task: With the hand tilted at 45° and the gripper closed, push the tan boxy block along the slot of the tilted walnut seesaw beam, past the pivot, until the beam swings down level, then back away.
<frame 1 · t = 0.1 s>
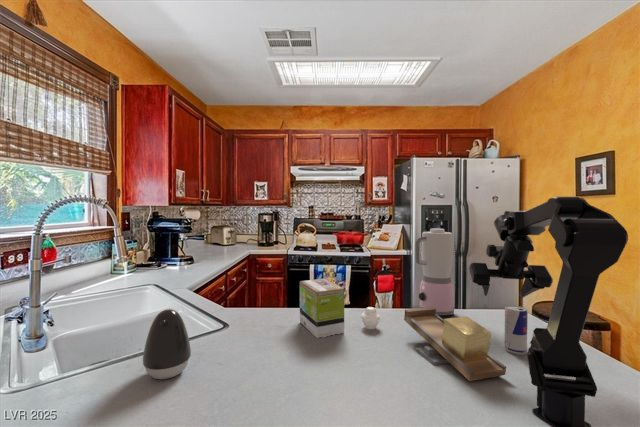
hand: (502, 295, 88), 15 cm above the countertop, tool tilted 35°, fingers open, 9 cm apart
pivot stand: (447, 354, 84), on the countertop
blender: (432, 313, 118), on the countertop
dark grey egg shape: (167, 374, 74), on the countertop
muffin: (370, 328, 103), on the countertop
tan boxy block: (463, 351, 78), point 4 cm above the countertop, tilted 8°, touching seesaw beam
tea box: (320, 328, 103), on the countertop
energy drink: (515, 351, 87), on the countertop
seesaw beam: (448, 337, 84), point 5 cm above the countertop, hinge at -8.5°, touching tan boxy block
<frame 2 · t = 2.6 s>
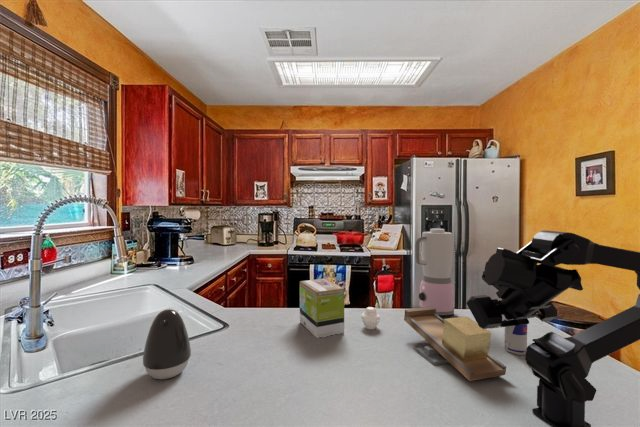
hand: (489, 326, 71), 13 cm above the countertop, tool tilted 45°, fingers closed
nothing on the countertop moved.
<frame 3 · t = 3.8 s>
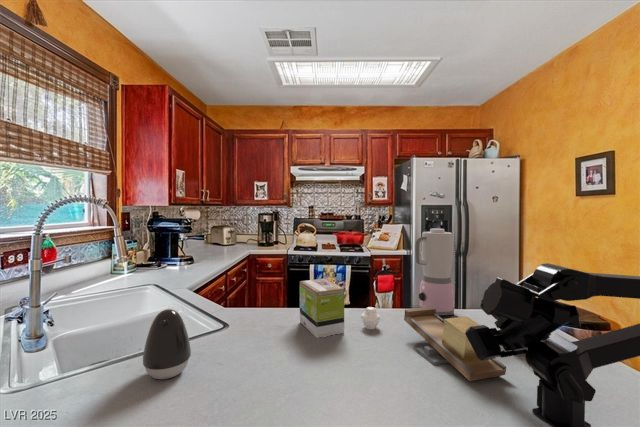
hand: (487, 353, 71), 7 cm above the countertop, tool tilted 45°, fingers closed
nothing on the countertop moved.
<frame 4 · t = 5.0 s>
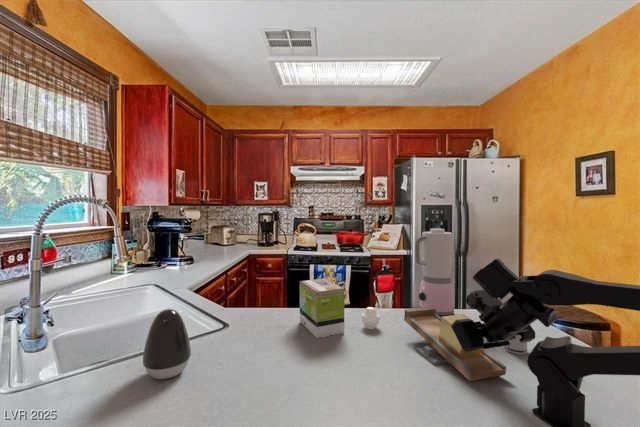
hand: (473, 346, 75), 6 cm above the countertop, tool tilted 45°, fingers closed, pressing on tan boxy block
tan boxy block: (460, 348, 80), point 4 cm above the countertop, tilted 8°, touching gripper
seesaw beam: (448, 337, 84), point 5 cm above the countertop, hinge at -8.5°
everything else where it was.
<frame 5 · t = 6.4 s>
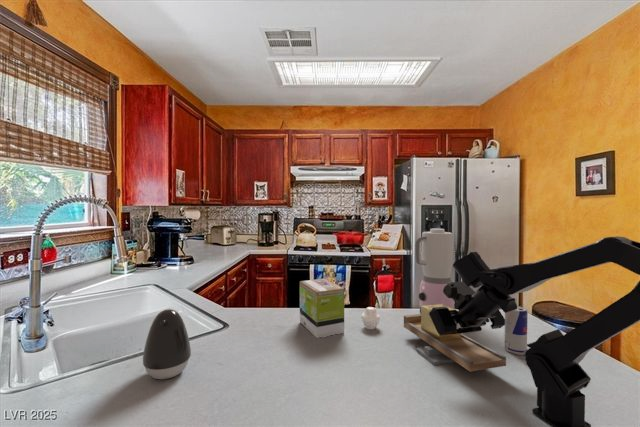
hand: (450, 332, 83), 7 cm above the countertop, tool tilted 45°, fingers closed, pressing on tan boxy block
tan boxy block: (440, 334, 87), point 4 cm above the countertop, touching gripper
seesaw beam: (447, 337, 84), point 5 cm above the countertop, hinge at 0.6°
everything else where it was.
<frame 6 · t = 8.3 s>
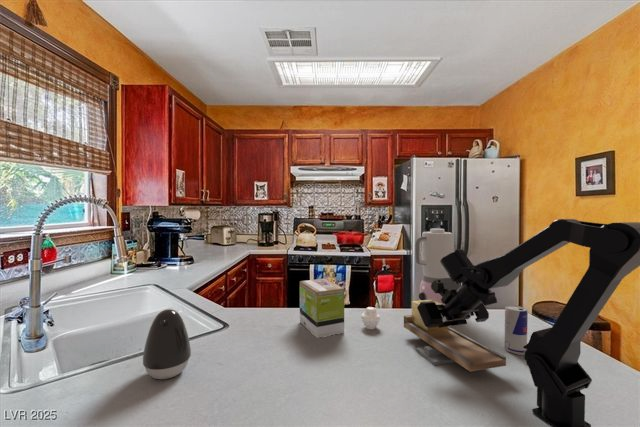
hand: (438, 326, 88), 6 cm above the countertop, tool tilted 45°, fingers closed, pressing on tan boxy block
tan boxy block: (429, 327, 92), point 4 cm above the countertop, touching gripper, seesaw beam
seesaw beam: (447, 337, 84), point 5 cm above the countertop, hinge at 0.6°, touching tan boxy block
everything else where it was.
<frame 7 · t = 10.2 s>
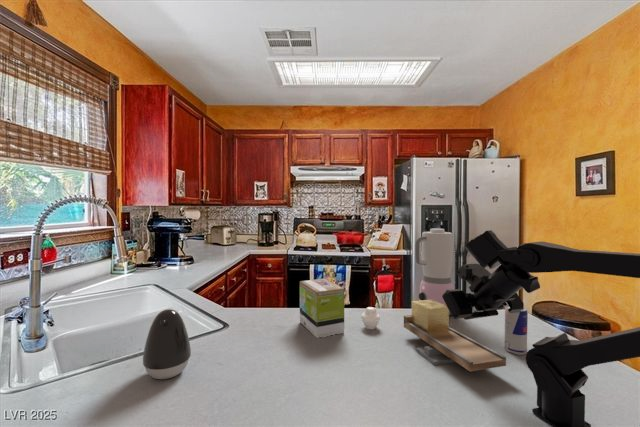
hand: (464, 317, 78), 12 cm above the countertop, tool tilted 45°, fingers closed
tan boxy block: (429, 327, 92), point 4 cm above the countertop, touching seesaw beam
everything else where it was.
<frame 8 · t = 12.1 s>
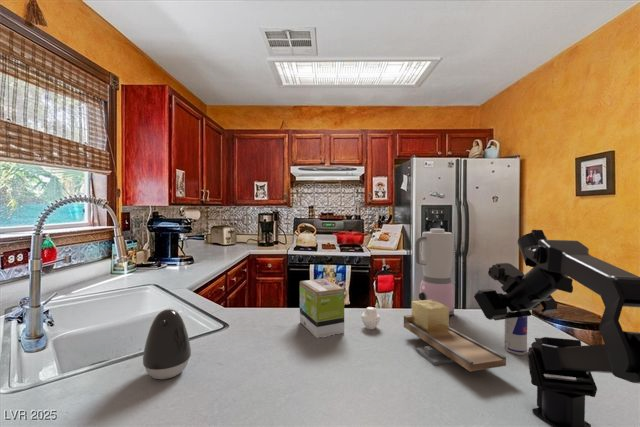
hand: (494, 318, 77), 13 cm above the countertop, tool tilted 45°, fingers closed
nothing on the countertop moved.
at the end: seesaw beam at +1° (first picture: -8°); tan boxy block 0.9 cm from the target spot on the seesaw beam, point 1.4 cm above the seesaw beam's base; tan boxy block tilted 1° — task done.
